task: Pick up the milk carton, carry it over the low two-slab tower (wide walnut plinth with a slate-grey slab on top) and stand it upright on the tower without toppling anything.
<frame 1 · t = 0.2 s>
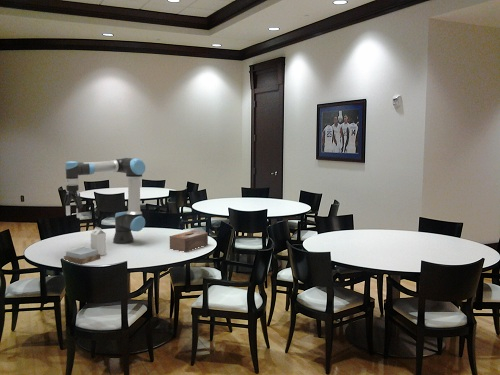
hand: (73, 216, 305), 28 cm above the table, fingers open, 13 cm apart
milk carton: (98, 255, 315), on the table
bottom slab: (82, 259, 303), on the table
top slab: (82, 255, 302), point 3 cm above the table, touching bottom slab
tissue box cover: (189, 247, 339), on the table
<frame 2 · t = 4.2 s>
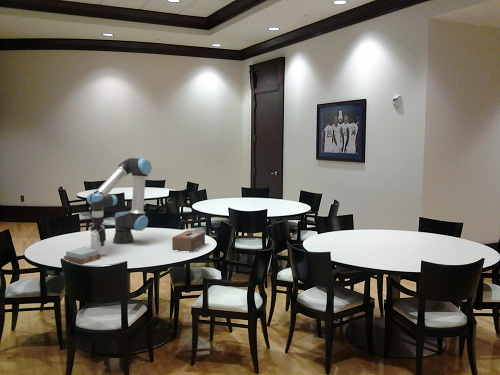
hand: (98, 249, 315), 4 cm above the table, fingers closed on milk carton, 7 cm apart
milk carton: (98, 255, 315), on the table, touching gripper
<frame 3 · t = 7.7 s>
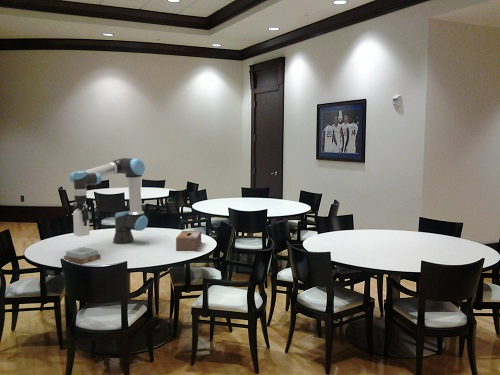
hand: (81, 229, 301), 20 cm above the table, fingers closed on milk carton, 7 cm apart
milk carton: (81, 235, 301), point 16 cm above the table, touching gripper
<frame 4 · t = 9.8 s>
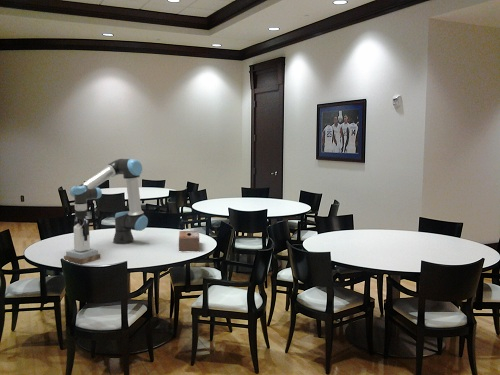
hand: (81, 244, 302), 10 cm above the table, fingers closed on milk carton, 7 cm apart
milk carton: (82, 250, 302), point 6 cm above the table, touching gripper
when the fingers open (10 cm above the table, at t = 11.4 s): milk carton stays where it is, resting on top slab.
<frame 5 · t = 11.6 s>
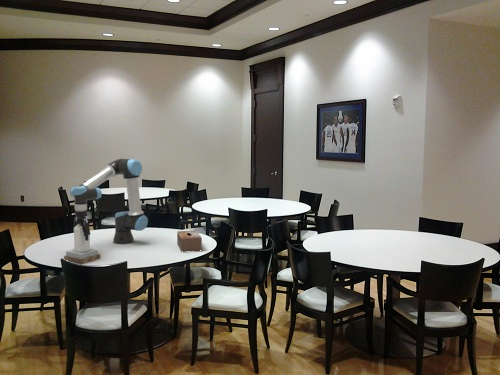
hand: (81, 244, 302), 10 cm above the table, fingers open, 9 cm apart
milk carton: (82, 250, 302), point 6 cm above the table, touching top slab
top slab: (82, 255, 302), point 3 cm above the table, touching bottom slab, milk carton
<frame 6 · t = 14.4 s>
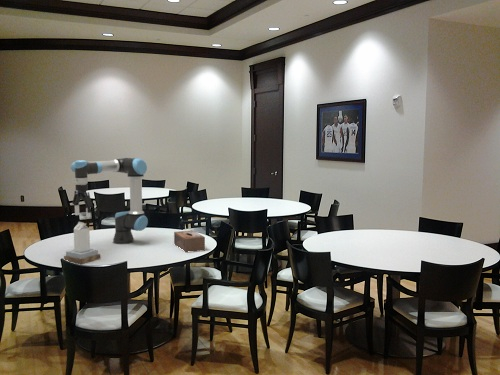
hand: (82, 216, 302), 29 cm above the table, fingers open, 13 cm apart
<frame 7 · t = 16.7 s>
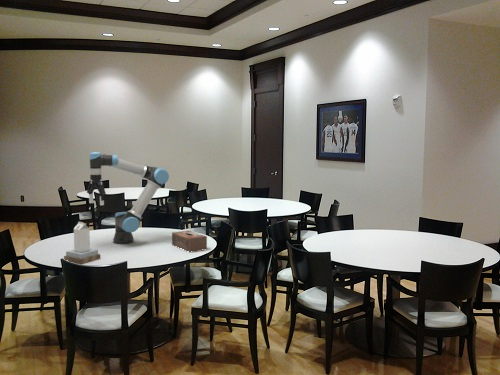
hand: (96, 204, 327), 33 cm above the table, fingers open, 13 cm apart
at the end: milk carton inside the target area on the top slab (0.0 cm from its centre), point 2.8 cm above the top slab's base; milk carton tilted 0°; top slab moved 0.0 cm from its start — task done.
